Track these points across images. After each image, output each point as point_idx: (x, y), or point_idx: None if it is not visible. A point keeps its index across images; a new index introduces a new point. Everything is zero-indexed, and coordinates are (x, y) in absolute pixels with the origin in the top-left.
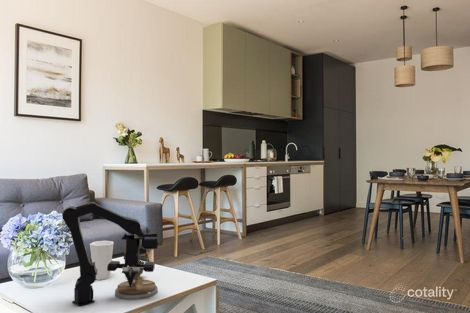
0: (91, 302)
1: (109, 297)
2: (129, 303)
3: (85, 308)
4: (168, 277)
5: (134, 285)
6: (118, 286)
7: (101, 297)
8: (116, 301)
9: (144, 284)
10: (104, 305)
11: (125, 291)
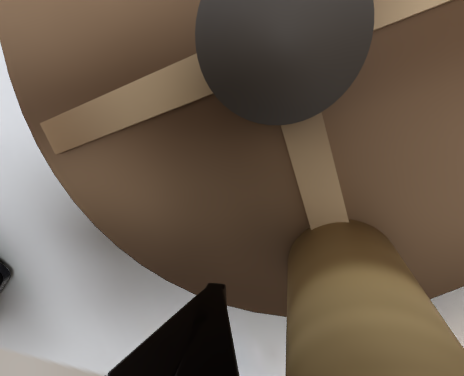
0: (1, 288)
1: (64, 189)
2: (261, 343)
3: (21, 353)
4: None
5: (253, 119)
6: (34, 113)
7: (6, 182)
8: (151, 285)
9: (446, 6)
10: (100, 337)
11: (179, 277)
